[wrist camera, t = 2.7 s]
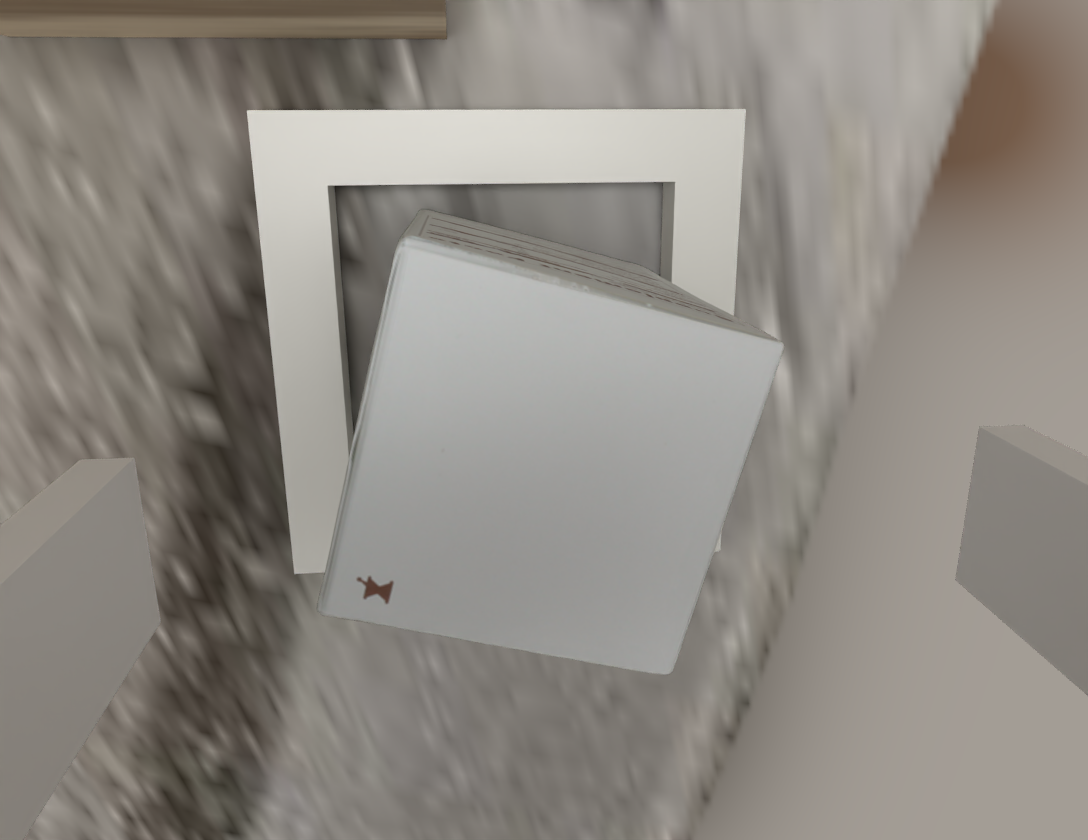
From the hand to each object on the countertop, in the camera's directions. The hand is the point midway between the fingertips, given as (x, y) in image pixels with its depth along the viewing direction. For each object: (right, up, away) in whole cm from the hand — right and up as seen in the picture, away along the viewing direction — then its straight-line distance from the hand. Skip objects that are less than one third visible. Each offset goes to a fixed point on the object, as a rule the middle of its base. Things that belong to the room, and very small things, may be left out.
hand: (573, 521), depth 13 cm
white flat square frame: (-2, +4, +14) cm, 15 cm away
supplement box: (-2, +4, +14) cm, 15 cm away
